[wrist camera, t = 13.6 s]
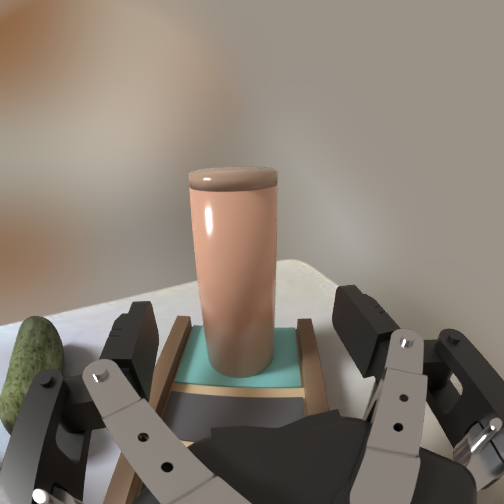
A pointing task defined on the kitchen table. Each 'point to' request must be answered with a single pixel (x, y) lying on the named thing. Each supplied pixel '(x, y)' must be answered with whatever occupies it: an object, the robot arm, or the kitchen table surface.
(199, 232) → the canister
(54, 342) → the vegetable
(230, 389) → the board
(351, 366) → the kitchen table surface
